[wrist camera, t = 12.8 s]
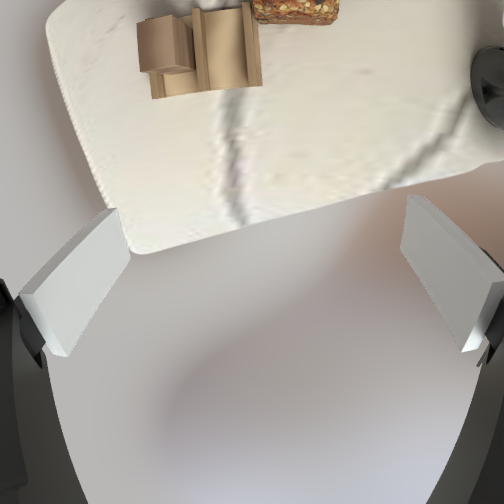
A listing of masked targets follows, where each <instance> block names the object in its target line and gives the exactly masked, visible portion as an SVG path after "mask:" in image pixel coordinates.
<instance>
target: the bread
mask: <svg viewBox="0 0 504 504" xmlns="http://www.w3.org/2000/svg"><path fill="white" fill-rule="evenodd" d="M339 2H340V0H252V3H253V4H252V8H253V14H254V17H255V19H256V22H258V23H260V24H302V25H330V24H332V23H333V21H335V20H336V19H337V18H338V17H337V16H338V11H339Z"/></svg>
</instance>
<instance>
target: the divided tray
mask: <svg viewBox="0 0 504 504" xmlns="http://www.w3.org/2000/svg"><path fill="white" fill-rule="evenodd" d="M151 19H154V18H148V19H145V21H147V20H151ZM178 19H179V20H180V21H182V22H183V23H185V24H186V25H187V26H189V27H190V28H192V29H193V34H194V47H195V58H196V70H197V71H192V72H186V73H180V74H174V75H167V74H157V73H149V75H150V84H151V93H152V99H159V98H165V97H170V96H176V95H182V94H189V93H196V92H203V91H211V90H220V89H230V88H241V87H255V86H262V74H261V61H260V48H259V36H258V24H257V22H256V19H255V17H254V14H253V8H252V7H251V4H250V1H249V2H242V8H238V9H228V10H220V11H212V12H206V13H204V12H203V11H202V10H201V9H200V8H194V9H192V15H188V16H183V17H178Z"/></svg>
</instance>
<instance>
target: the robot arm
mask: <svg viewBox="0 0 504 504" xmlns="http://www.w3.org/2000/svg"><path fill="white" fill-rule="evenodd" d="M471 84H472V90H473V94H474V98H475V101H476V103H477V105H478V108H479V109H480V111H481V113H482V114H483V116H484V117H485V118H486V119H487V120H488V121H489V122H490V123H491V124H492V125H494V126H495V127H497V128H500V129H503V130H504V47H501V46H488V47H485V48H483V49H481V50H480V51H479V52H478V53H477V55H476V56H475V58H474V61H473V64H472V69H471ZM400 250H401V251H402V253H403V255H404V256H405V258H406V259H407V261H408V262H409V264H410V265H411V267H412V268H413V270H414V271H415V273H416V275H417V276H418V278H419V279H420V281H421V283H422V284H423V286H424V287H425V289H426V291H427V292H428V294H429V296H430V297H431V299H432V301H433V302H434V304H435V306H436V307H437V309H438V311H439V312H440V314H441V316H442V318H443V320H444V321H445V323H446V325H447V327H448V329H449V330H450V332H451V334H452V336H453V338H454V340H455V342H456V343H457V345H458V347H459V349H460V351H461V352H465V351H470V350H474V349H478V347H479V345H480V344H481V342H482V340H483V338H484V336H485V335H486V337H487V339H488V340H489V342H490V343H489V345H488V346H487V348H486V350H485V352H484V353H483V355H482V357H481V359H480V360H479V362H478V364H477V367H479V366H480V364H481V363H482V366H481V371H480V374H479V378H478V381H477V385H476V388H475V392H474V395H473V398H472V401H471V404H470V407H469V410H468V413H467V416H466V419H465V422H464V424H463V427H462V430H461V432H460V435H459V437H458V440H457V442H456V444H455V447H454V449H453V451H452V454H451V456H450V458H449V461H448V462H447V465H446V467H445V469H444V471H443V473H442V475H441V477H440V479H439V481H438V483H437V485H436V486H435V489H434V490H433V492H432V494H431V496H430V498H429V499H428V501H427V503H426V504H504V270H503V269H502V268H501V267H499V264H498V263H497V262H496V261H495V260H493V258H492V257H491V256H490V255H489V254H488V253H487V252H486V251H485V250H483V249H482V248H480V247H479V246H477V245H476V244H475V243H474V242H473V241H472V240H471V239H470V238H469V237H468V236H467V235H466V234H465V233H464V232H463V231H462V230H461V229H460V228H459V227H458V226H456V225H455V224H454V223H453V222H452V221H451V220H450V219H449V218H448V217H447V216H446V215H444V214H443V213H442V212H441V211H440V210H439V209H438V208H437V207H436V206H434V205H433V204H432V203H431V202H430V201H429V200H427V199H426V198H425V197H424V196H423V195H408V200H407V208H406V215H405V223H404V229H403V235H402V241H401V247H400ZM130 259H131V257H130V254H129V250H128V247H127V243H126V240H125V236H124V232H123V229H122V225H121V221H120V217H119V213H118V209H117V208H110V209H104V210H102V212H100V213H99V214H98V215H97V216H96V217H94V218H93V219H92V220H91V221H90V222H89V223H88V224H87V225H86V226H84V227H83V228H82V229H81V230H80V231H79V232H78V233H77V234H76V235H75V236H74V237H73V238H72V239H70V241H69V242H67V243H66V244H65V245H64V246H63V247H62V248H61V249H60V250H59V251H58V252H57V253H56V254H55V255H54V256H53V257H52V258H51V259H50V260H49V261H48V262H47V263H46V264H45V265H44V266H43V267H42V268H41V269H40V270H39V271H38V272H37V274H36V275H35V276H34V277H33V278H32V279H31V280H30V281H29V282H28V283H27V284H26V285H25V286H24V288H23V289H22V290H21V291H20V292H19V295H18V296H17V297H16V299H15V300H13V298H12V297H11V294H10V292H9V291H8V288H7V286H6V284H5V282H4V280H3V279H0V504H88V502H87V500H86V497H85V495H84V492H83V490H82V488H81V485H80V483H79V480H78V478H77V475H76V472H75V470H74V467H73V464H72V461H71V458H70V456H69V452H68V449H67V446H66V443H65V439H64V436H63V433H62V429H61V425H60V422H59V418H58V414H57V410H56V406H55V402H54V397H53V393H52V388H51V383H50V378H49V372H48V366H47V360H46V356H45V353H44V352H43V350H42V347H43V346H44V344H45V343H46V344H47V345H48V347H49V349H50V350H51V352H52V353H53V354H54V355H59V356H64V357H68V356H69V354H70V353H71V351H72V349H73V347H74V346H75V344H76V343H77V341H78V339H79V338H80V336H81V334H82V333H83V331H84V329H85V328H86V326H87V324H88V323H89V321H90V320H91V318H92V316H93V315H94V313H95V312H96V310H97V308H98V307H99V305H100V303H101V302H102V301H103V299H104V298H105V296H106V295H107V293H108V291H109V290H110V289H111V287H112V286H113V284H114V283H115V281H116V280H117V278H118V277H119V275H120V274H121V272H122V271H123V269H124V268H125V266H126V265H127V263H128V262H129V261H130Z"/></svg>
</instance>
